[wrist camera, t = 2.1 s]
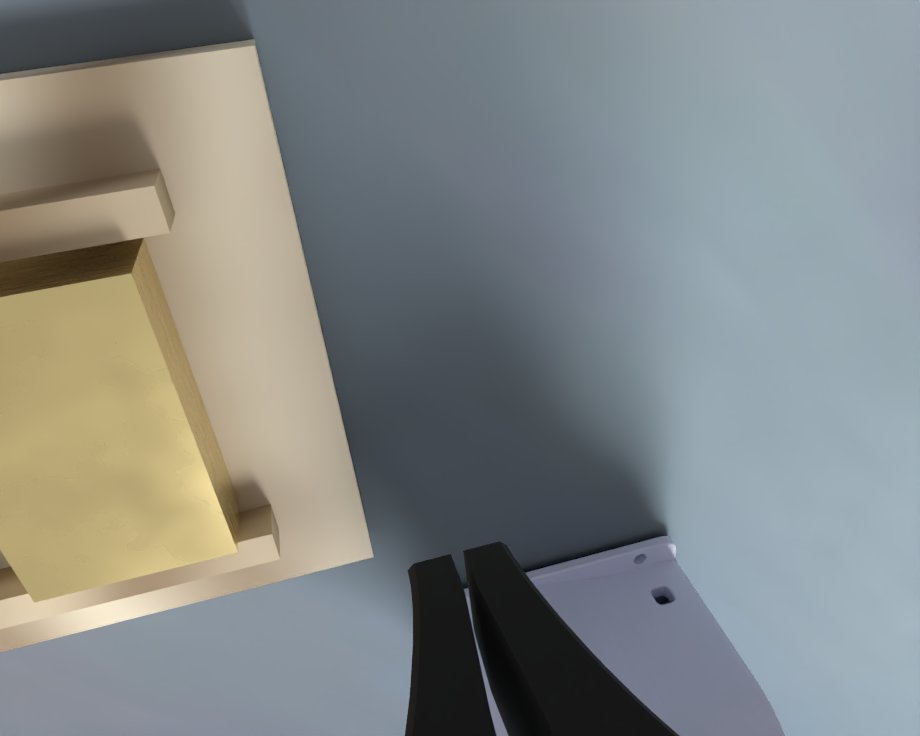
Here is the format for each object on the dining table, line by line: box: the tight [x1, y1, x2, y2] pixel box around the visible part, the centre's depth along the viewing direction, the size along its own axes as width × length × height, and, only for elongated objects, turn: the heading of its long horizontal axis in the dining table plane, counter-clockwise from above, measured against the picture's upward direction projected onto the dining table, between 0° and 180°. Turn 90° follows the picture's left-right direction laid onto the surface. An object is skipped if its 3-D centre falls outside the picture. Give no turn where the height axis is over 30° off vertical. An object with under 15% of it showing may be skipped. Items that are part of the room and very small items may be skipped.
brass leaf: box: [0, 238, 239, 603], centre depth 16 cm, size 7×8×2 cm
